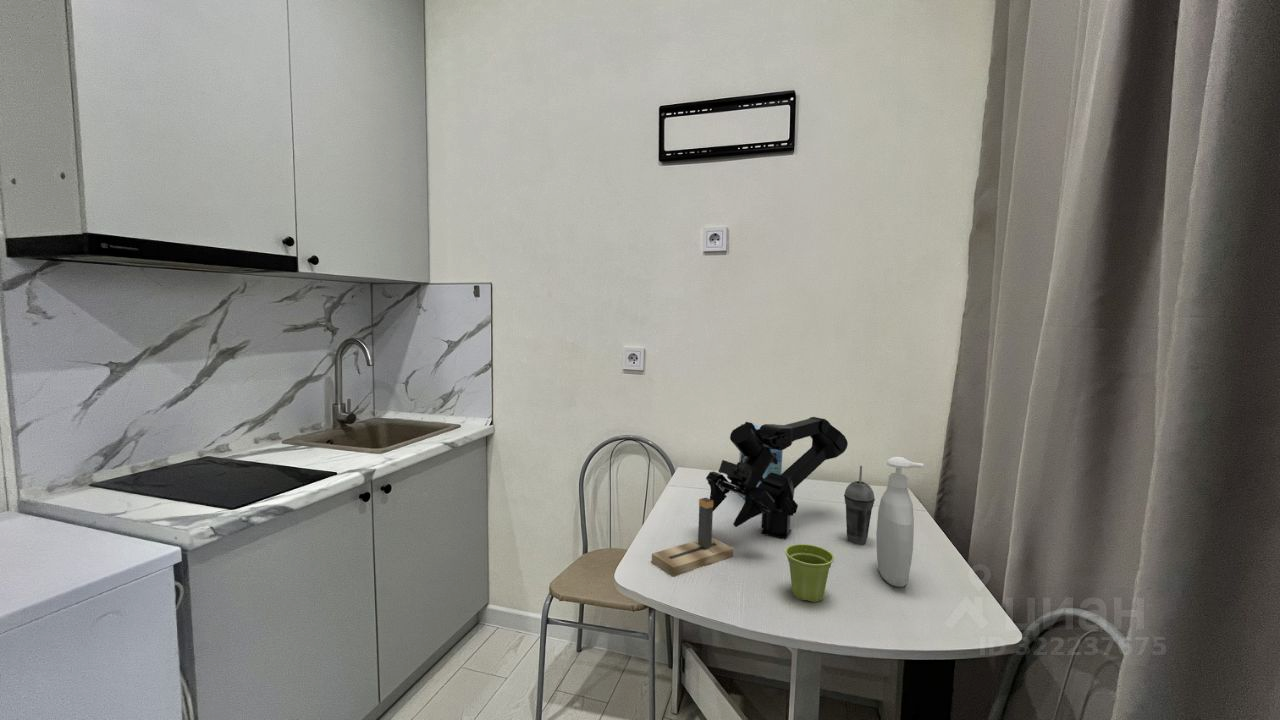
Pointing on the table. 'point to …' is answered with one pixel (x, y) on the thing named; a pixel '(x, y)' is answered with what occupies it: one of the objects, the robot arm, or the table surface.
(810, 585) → the plant pot
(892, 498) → the soap bottle
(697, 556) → the fader track
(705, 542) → the fader tab
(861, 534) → the beverage cup
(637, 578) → the table surface
